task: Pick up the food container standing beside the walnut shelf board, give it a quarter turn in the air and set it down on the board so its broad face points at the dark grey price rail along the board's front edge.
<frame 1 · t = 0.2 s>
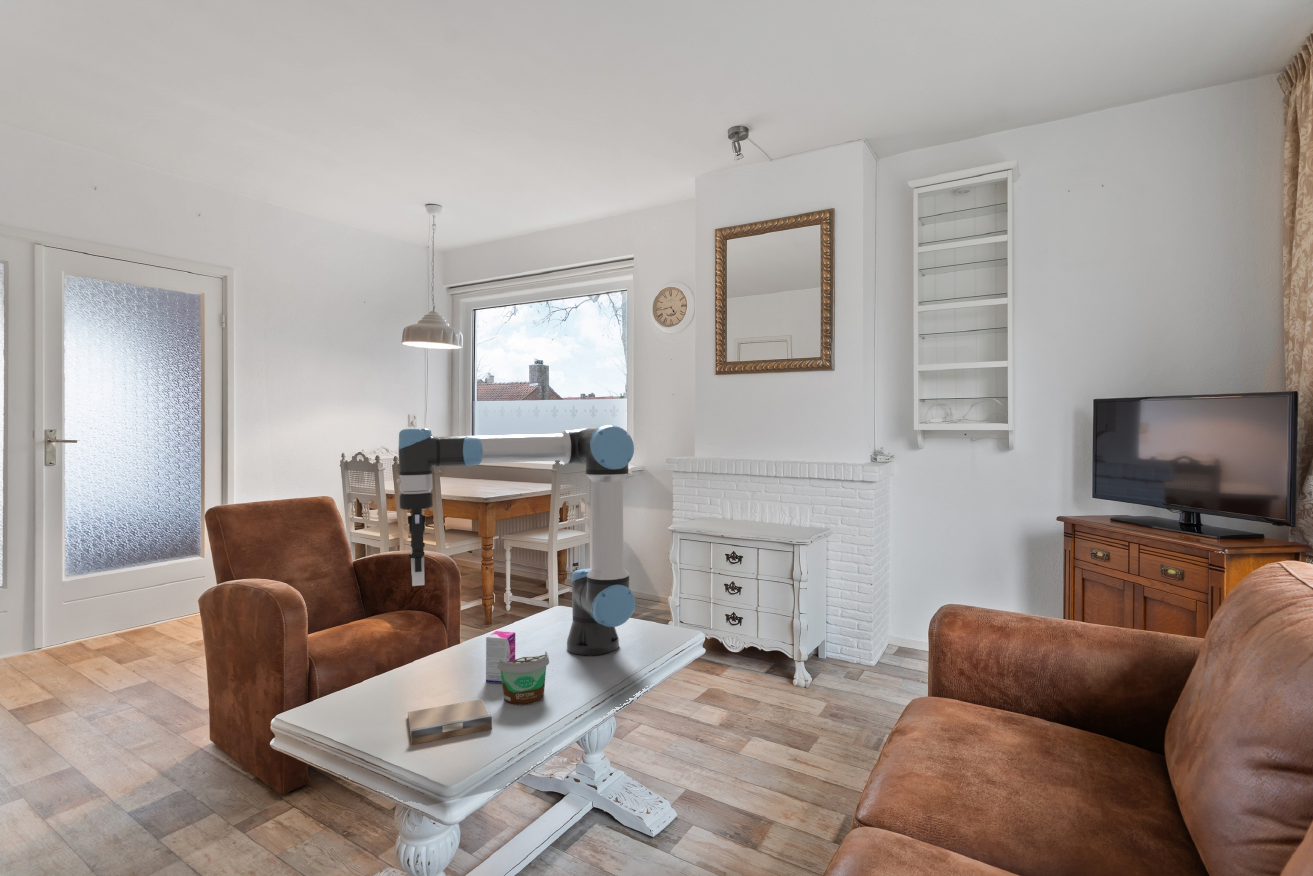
hand: (417, 579, 157), 28 cm above the table, fingers open, 13 cm apart
supplement box: (501, 679, 165), on the table
food container: (527, 702, 151), on the table
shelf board: (449, 723, 140), on the table
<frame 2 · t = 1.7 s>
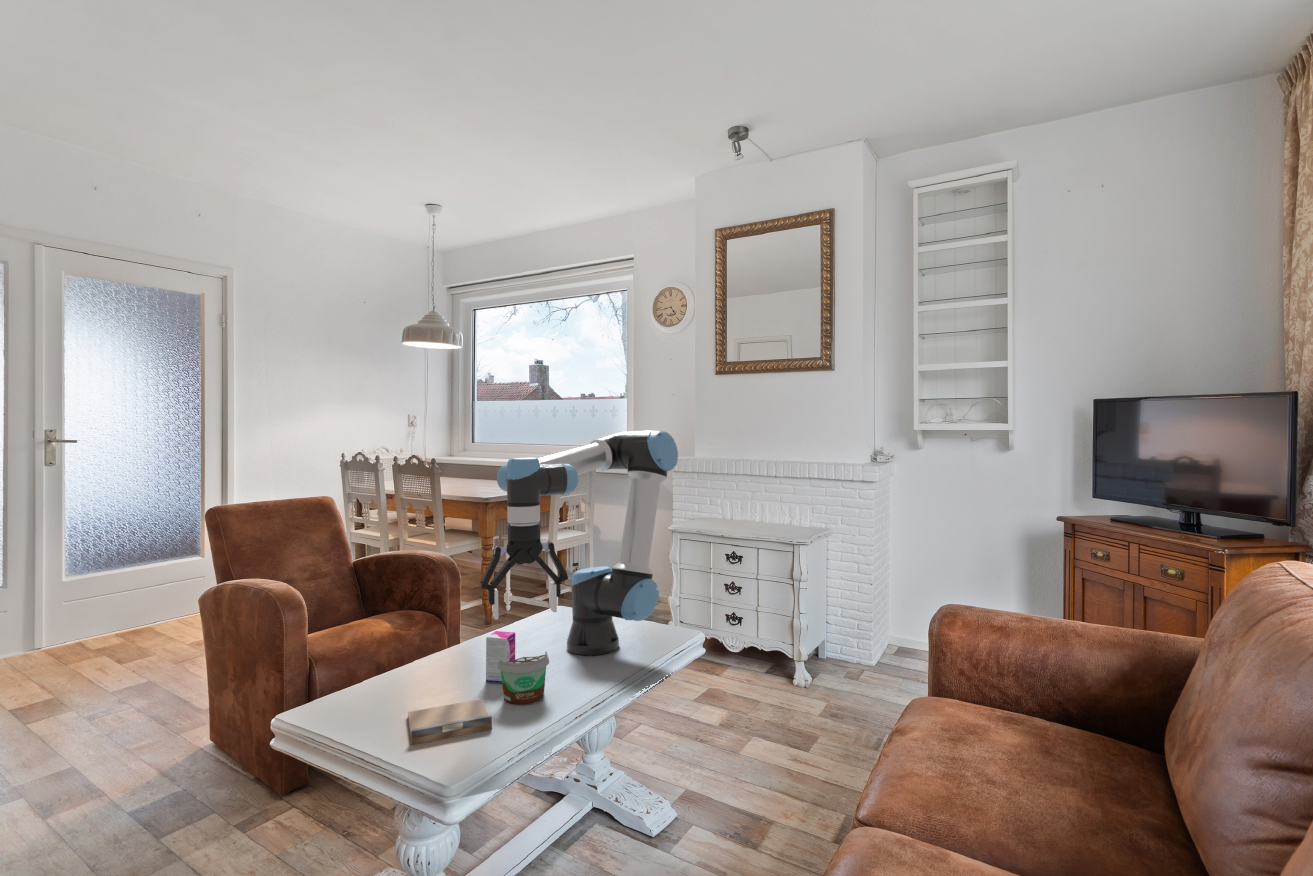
hand: (525, 614, 151), 20 cm above the table, fingers open, 13 cm apart
nothing on the table moved.
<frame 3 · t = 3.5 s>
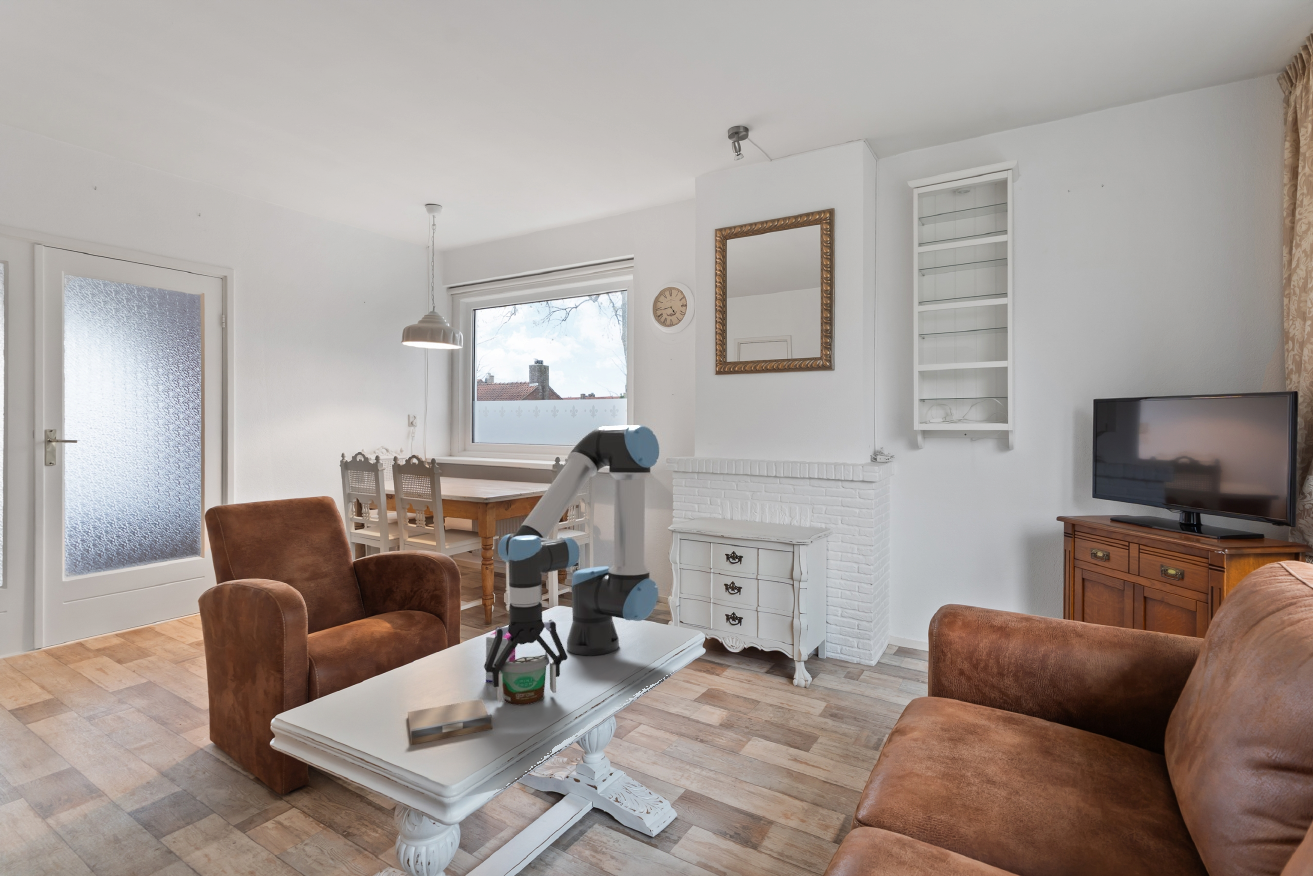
hand: (527, 695, 151), 1 cm above the table, fingers open, 12 cm apart
food container: (527, 702, 151), on the table, touching gripper
everything else where it was.
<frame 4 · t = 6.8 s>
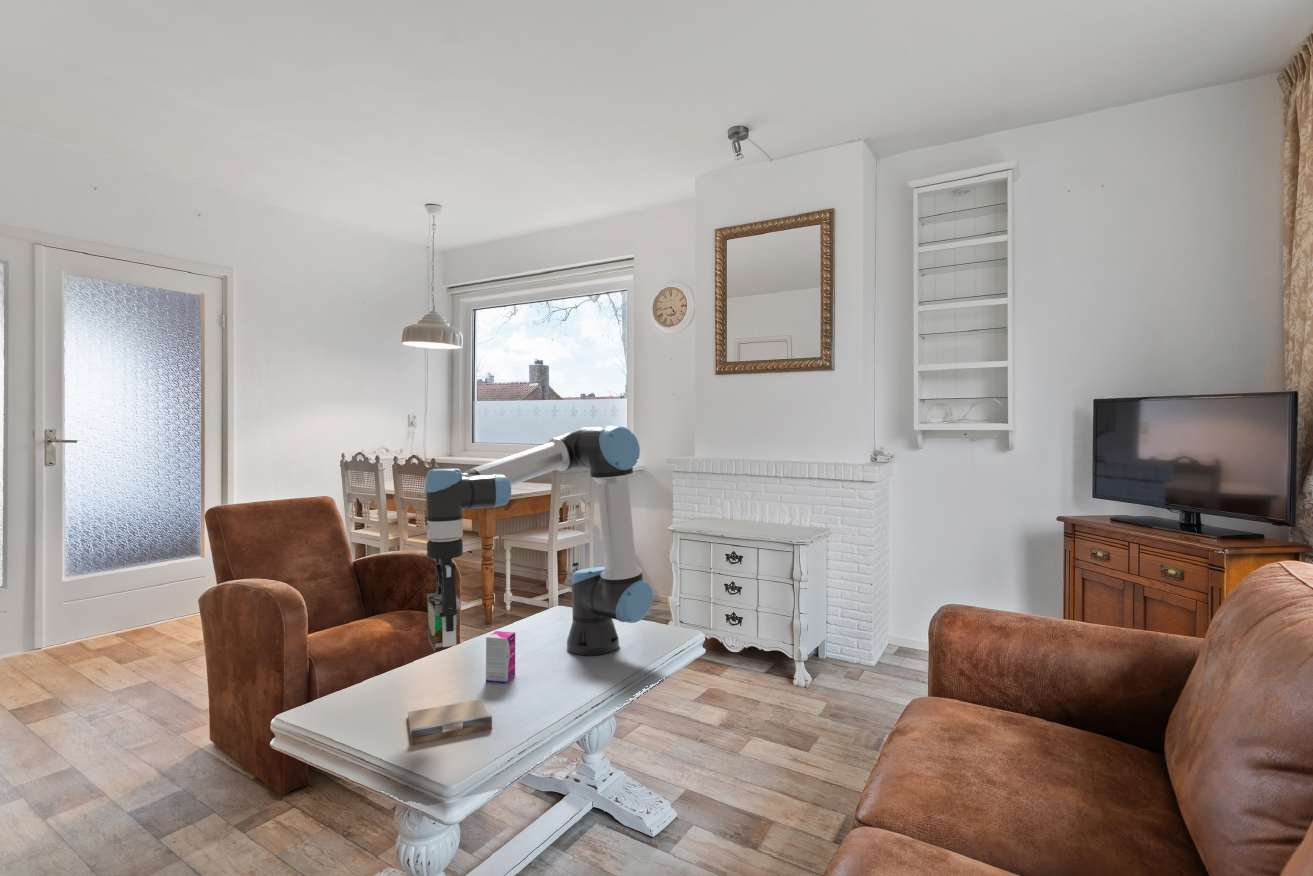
hand: (446, 638, 142), 18 cm above the table, fingers closed on food container, 11 cm apart
food container: (446, 643, 143), point 16 cm above the table, touching gripper
everything else where it was.
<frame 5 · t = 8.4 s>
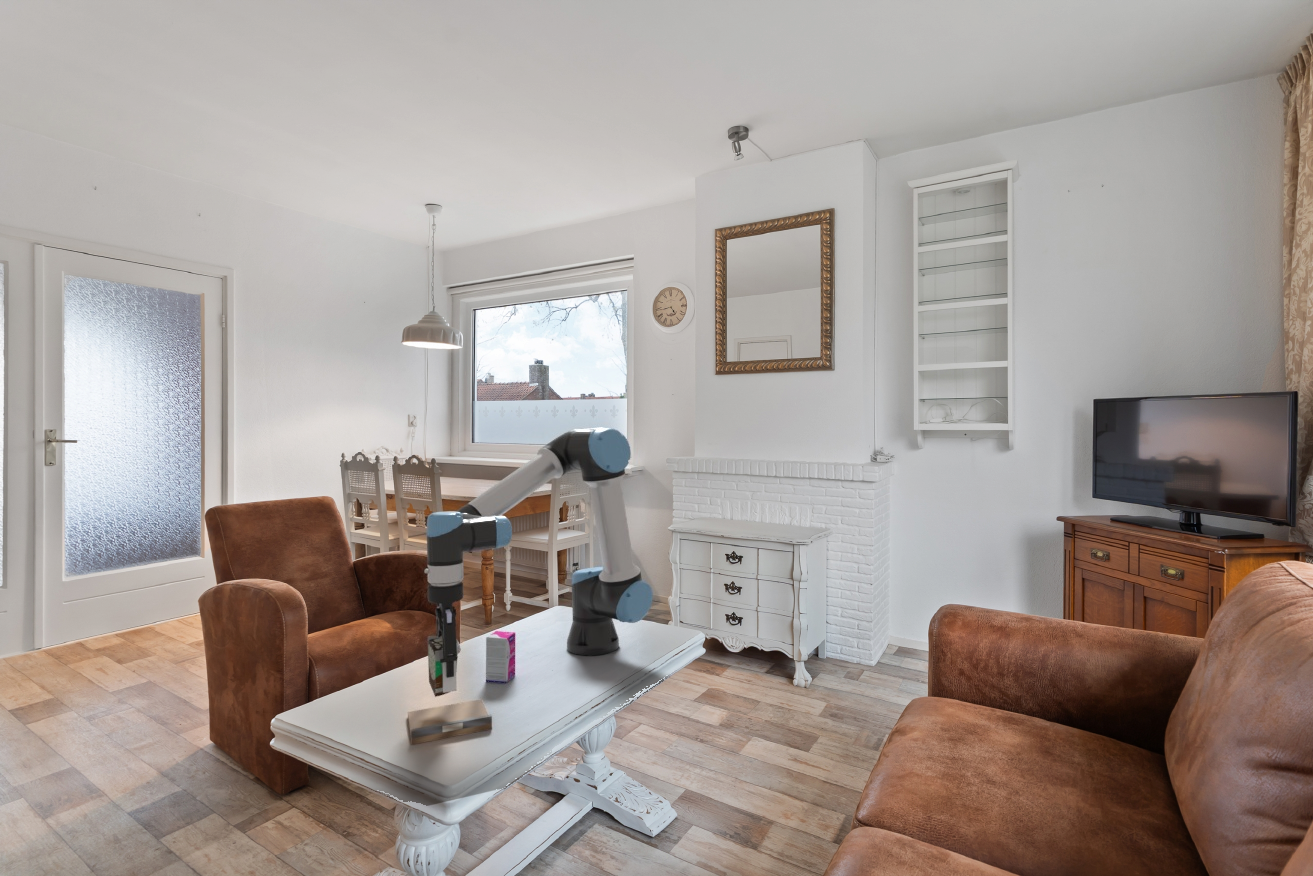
hand: (446, 681, 142), 8 cm above the table, fingers closed on food container, 11 cm apart
food container: (446, 687, 143), point 7 cm above the table, touching gripper
everything else where it was.
when the fingers open (4 cm above the table, at t = 9.9 s): food container drops 2 cm, resting on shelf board.
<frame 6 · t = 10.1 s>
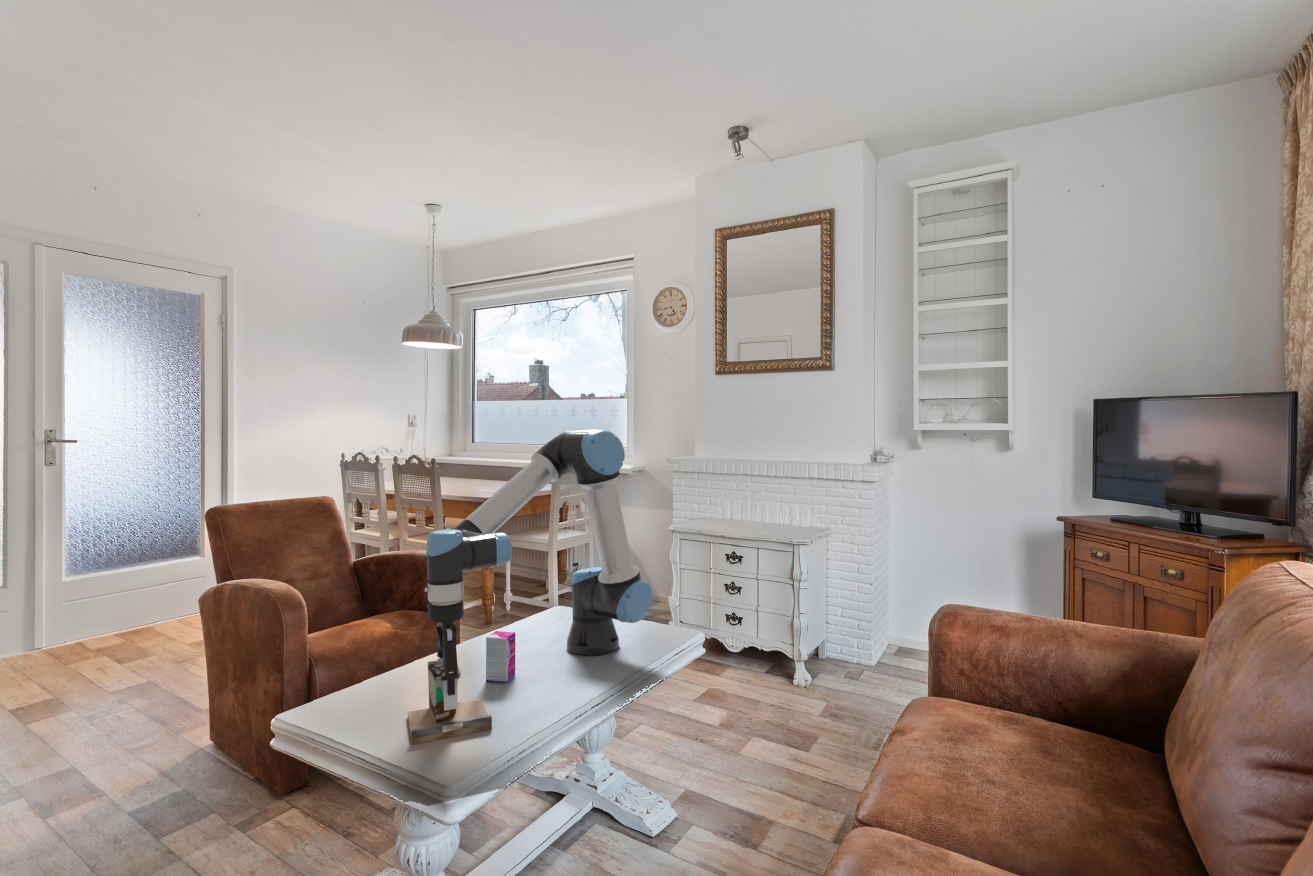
hand: (447, 697, 142), 5 cm above the table, fingers open, 13 cm apart
food container: (446, 713, 143), point 1 cm above the table, touching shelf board
everything else where it was.
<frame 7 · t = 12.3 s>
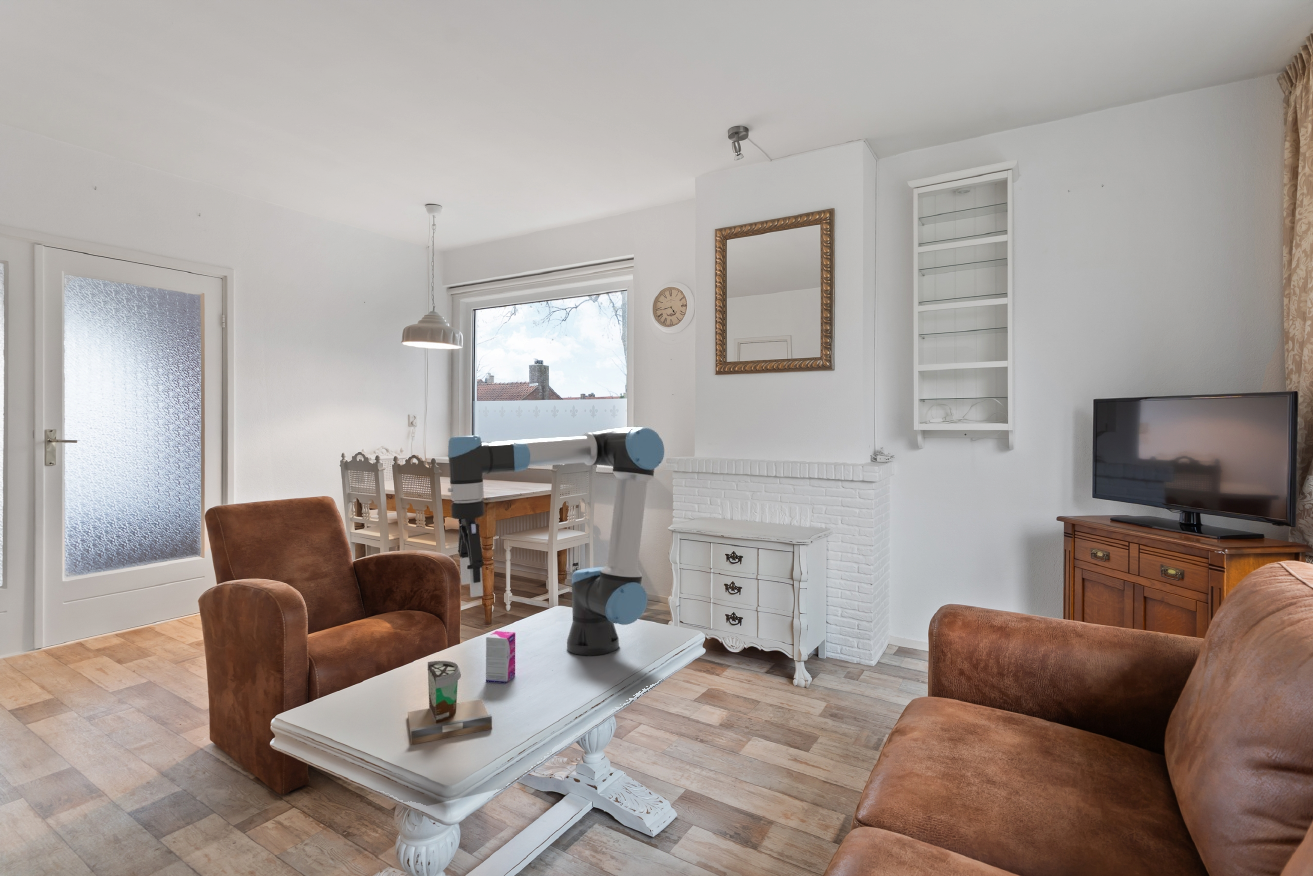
hand: (471, 589, 154), 26 cm above the table, fingers open, 13 cm apart
nothing on the table moved.
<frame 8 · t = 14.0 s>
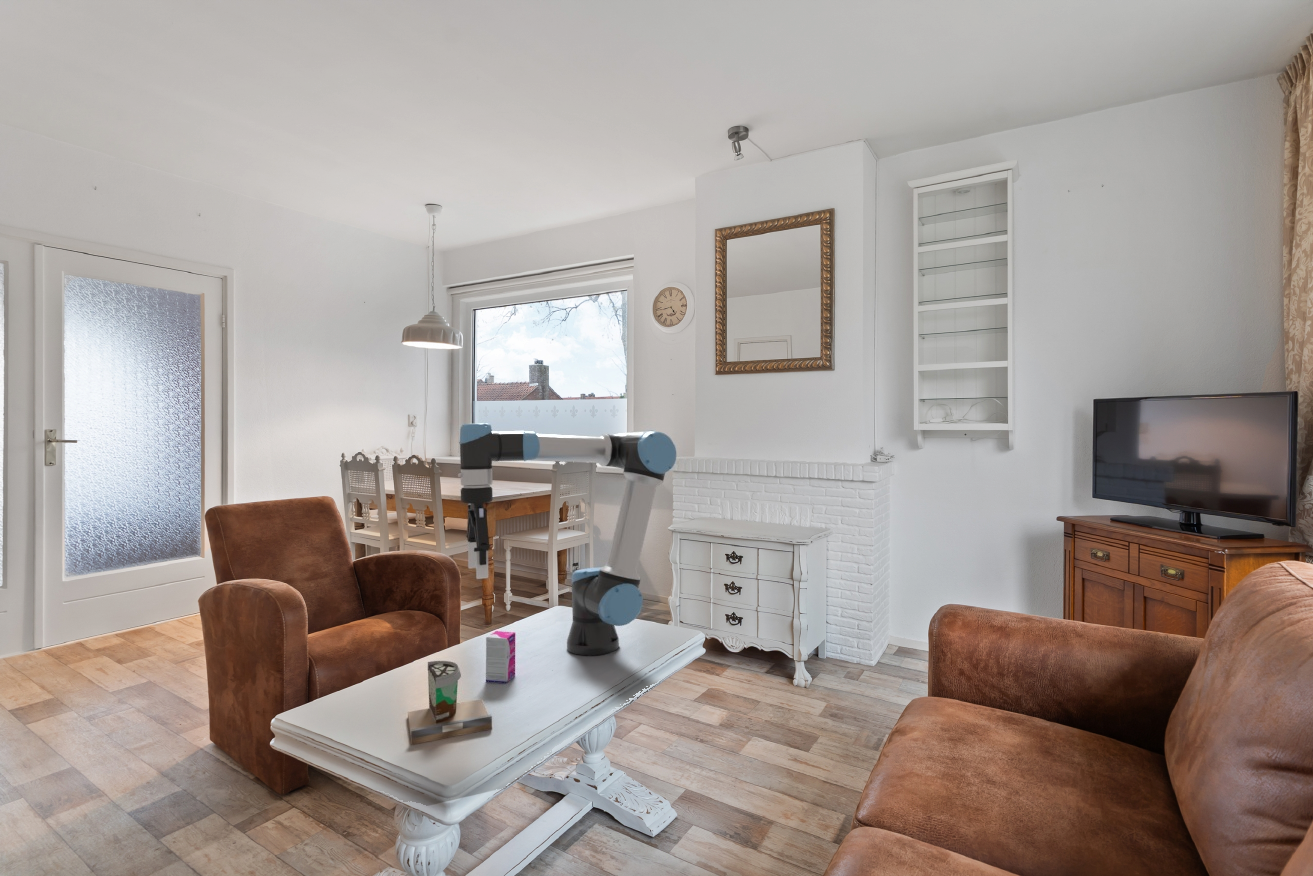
hand: (478, 573, 158), 29 cm above the table, fingers open, 13 cm apart
nothing on the table moved.
at the end: food container inside the target area (1.5 cm from its centre), point 1.0 cm above the table; food container tilted 0°; the gripper is holding nothing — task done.
